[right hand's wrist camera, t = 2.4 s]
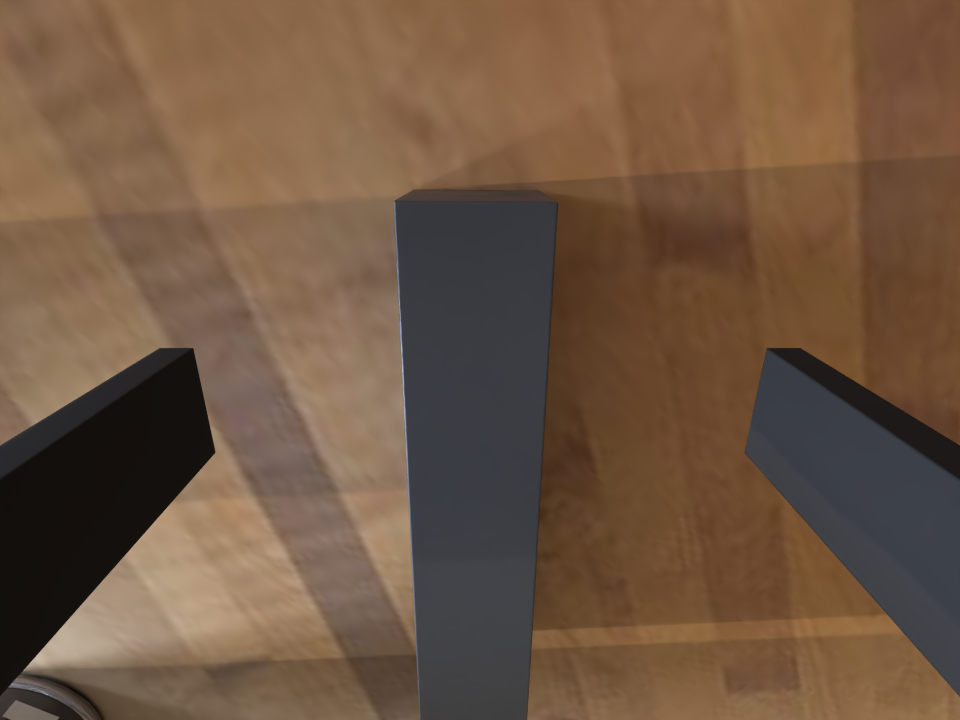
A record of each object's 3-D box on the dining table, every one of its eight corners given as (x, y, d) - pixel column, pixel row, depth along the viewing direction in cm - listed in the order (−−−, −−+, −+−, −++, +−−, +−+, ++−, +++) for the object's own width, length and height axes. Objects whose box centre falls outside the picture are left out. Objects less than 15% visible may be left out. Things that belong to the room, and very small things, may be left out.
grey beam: (429, 631, 35) (419, 722, 29) (412, 189, 25) (393, 200, 19) (519, 632, 35) (527, 723, 29) (540, 190, 25) (558, 201, 19)
